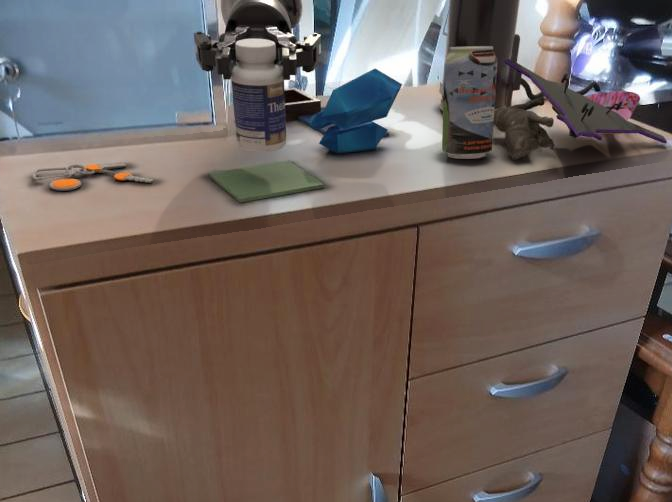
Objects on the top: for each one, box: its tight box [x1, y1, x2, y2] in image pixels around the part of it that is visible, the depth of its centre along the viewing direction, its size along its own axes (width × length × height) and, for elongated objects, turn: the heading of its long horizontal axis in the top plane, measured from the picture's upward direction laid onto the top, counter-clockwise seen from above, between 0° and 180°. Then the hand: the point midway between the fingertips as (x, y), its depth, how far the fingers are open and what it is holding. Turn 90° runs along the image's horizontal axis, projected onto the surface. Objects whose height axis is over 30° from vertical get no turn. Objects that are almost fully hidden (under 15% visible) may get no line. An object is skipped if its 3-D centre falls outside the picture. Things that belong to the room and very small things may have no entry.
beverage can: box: [441, 46, 497, 160], centre depth 87 cm, size 6×7×12 cm
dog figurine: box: [493, 96, 555, 161], centre depth 91 cm, size 12×6×7 cm
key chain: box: [31, 163, 154, 192], centre depth 82 cm, size 13×7×1 cm, turn 106°
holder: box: [284, 87, 322, 122], centre depth 104 cm, size 8×8×2 cm
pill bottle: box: [231, 39, 287, 153], centre depth 77 cm, size 5×5×10 cm
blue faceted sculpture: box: [309, 68, 403, 154], centre depth 90 cm, size 7×9×12 cm
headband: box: [584, 90, 641, 121], centre depth 100 cm, size 11×4×2 cm
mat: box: [208, 160, 325, 203], centre depth 83 cm, size 10×9×1 cm
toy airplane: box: [504, 59, 668, 144], centre depth 90 cm, size 24×26×5 cm
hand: (256, 68), depth 73 cm, fingers closed on pill bottle, 5 cm apart
